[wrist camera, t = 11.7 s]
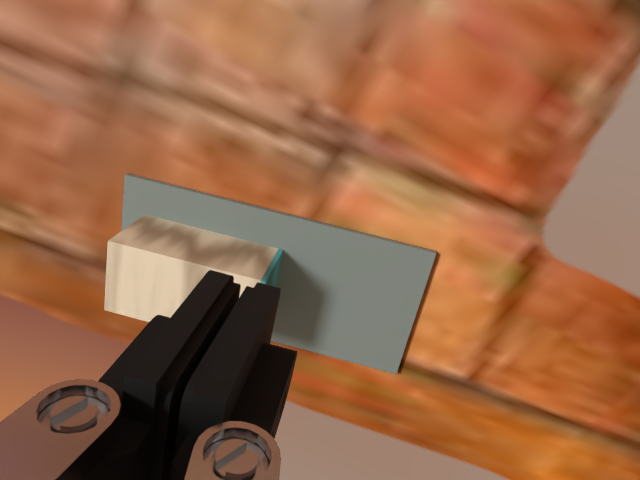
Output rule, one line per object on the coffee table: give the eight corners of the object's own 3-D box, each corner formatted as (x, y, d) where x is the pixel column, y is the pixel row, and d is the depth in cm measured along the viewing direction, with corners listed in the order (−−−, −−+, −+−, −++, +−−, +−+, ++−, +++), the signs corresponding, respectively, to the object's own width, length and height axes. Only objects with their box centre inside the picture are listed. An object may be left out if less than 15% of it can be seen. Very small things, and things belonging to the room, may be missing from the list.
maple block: (265, 281, 37) (107, 240, 38) (252, 349, 39) (104, 310, 40) (283, 249, 43) (145, 214, 43) (270, 310, 45) (140, 276, 46)
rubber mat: (436, 250, 41) (436, 253, 41) (396, 370, 46) (396, 374, 45) (127, 173, 43) (124, 174, 42) (119, 297, 47) (117, 299, 47)
